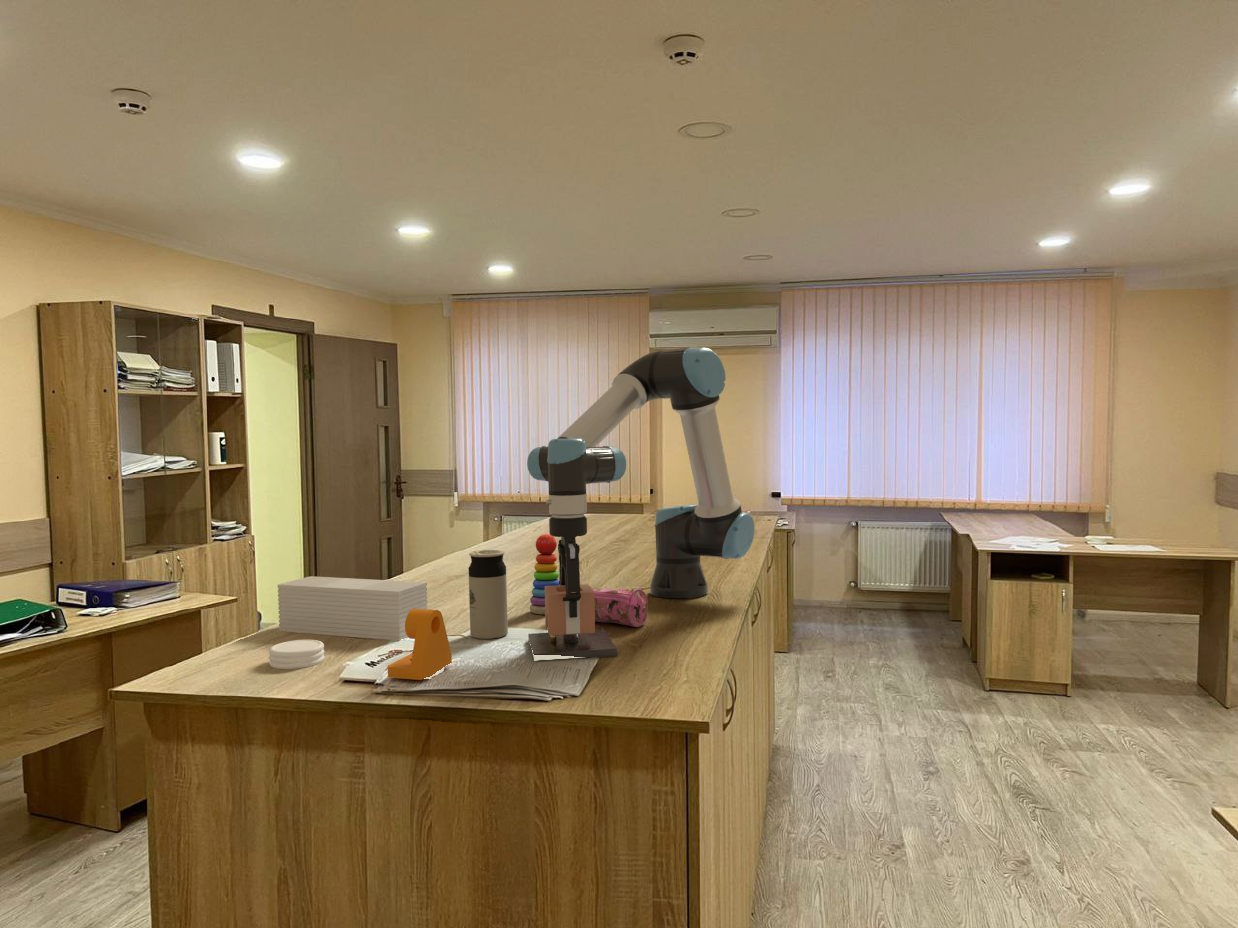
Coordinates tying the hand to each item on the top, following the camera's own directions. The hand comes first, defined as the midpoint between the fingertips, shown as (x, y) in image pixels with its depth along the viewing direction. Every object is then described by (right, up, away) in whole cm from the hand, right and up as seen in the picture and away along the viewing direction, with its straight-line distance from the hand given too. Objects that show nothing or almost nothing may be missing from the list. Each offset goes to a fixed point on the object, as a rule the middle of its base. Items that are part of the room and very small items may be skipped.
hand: (570, 627), depth 170 cm
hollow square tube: (0, 0, 0) cm, 0 cm away
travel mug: (-18, -4, +12) cm, 22 cm away
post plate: (0, -4, 0) cm, 4 cm away
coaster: (-53, -6, -6) cm, 53 cm away
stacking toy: (-8, -3, +34) cm, 35 cm away
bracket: (-27, -6, -15) cm, 31 cm away
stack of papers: (-50, -5, +20) cm, 54 cm away
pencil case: (+6, -3, +22) cm, 23 cm away
